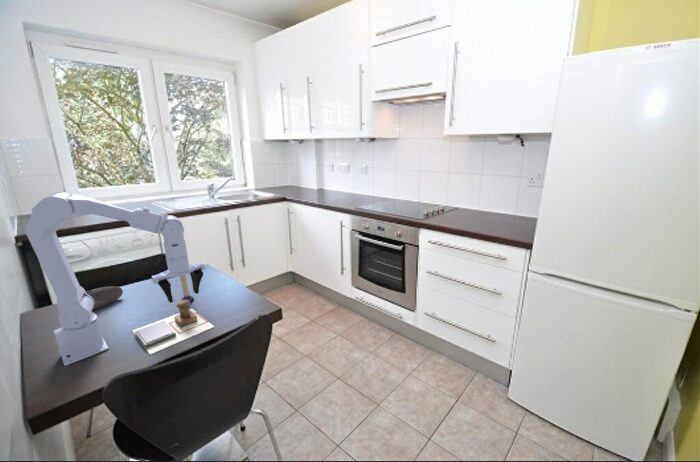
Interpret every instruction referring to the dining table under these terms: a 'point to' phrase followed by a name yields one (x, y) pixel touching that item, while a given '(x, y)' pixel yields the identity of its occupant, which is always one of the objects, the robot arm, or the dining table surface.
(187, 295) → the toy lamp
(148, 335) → the ink pad
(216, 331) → the dining table surface
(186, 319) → the stamp
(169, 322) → the paper sheet
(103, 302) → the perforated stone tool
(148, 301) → the dining table surface
